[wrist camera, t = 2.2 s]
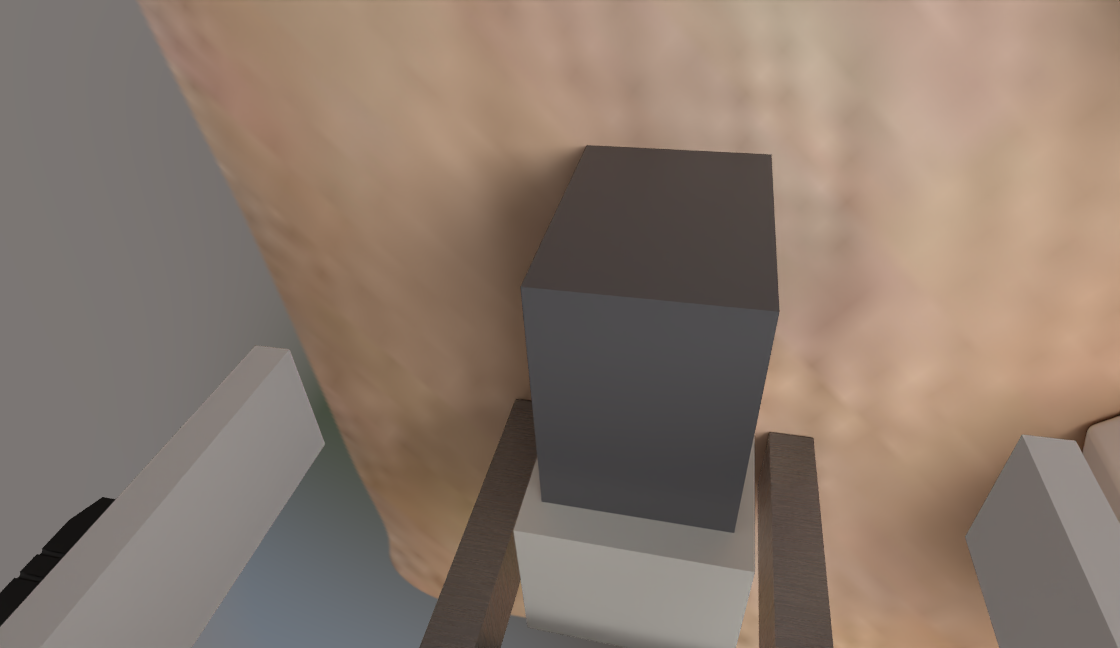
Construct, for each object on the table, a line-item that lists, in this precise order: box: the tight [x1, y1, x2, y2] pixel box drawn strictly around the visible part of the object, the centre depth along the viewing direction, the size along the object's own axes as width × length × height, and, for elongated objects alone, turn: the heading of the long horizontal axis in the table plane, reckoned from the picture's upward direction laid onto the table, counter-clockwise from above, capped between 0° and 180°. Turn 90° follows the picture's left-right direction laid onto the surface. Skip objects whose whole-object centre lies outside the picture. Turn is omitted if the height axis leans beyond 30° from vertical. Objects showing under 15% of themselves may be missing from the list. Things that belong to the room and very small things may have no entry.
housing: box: [419, 399, 833, 648], centre depth 21 cm, size 3×11×12 cm, turn 93°
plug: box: [513, 145, 779, 648], centre depth 19 cm, size 14×6×8 cm, turn 2°
